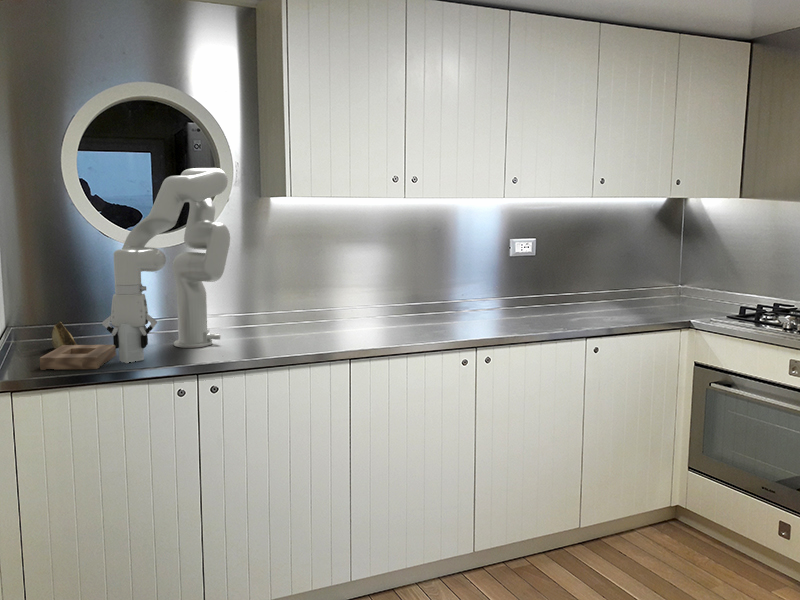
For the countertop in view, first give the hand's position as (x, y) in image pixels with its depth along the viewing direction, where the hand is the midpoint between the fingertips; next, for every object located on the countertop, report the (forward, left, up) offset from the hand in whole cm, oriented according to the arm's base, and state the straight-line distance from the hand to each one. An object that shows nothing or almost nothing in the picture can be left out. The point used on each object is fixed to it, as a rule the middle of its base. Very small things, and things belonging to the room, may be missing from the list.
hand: (130, 347), depth 217 cm
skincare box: (0, 0, -5) cm, 5 cm away
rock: (+26, -18, -5) cm, 32 cm away
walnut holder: (+15, +1, -4) cm, 16 cm away
